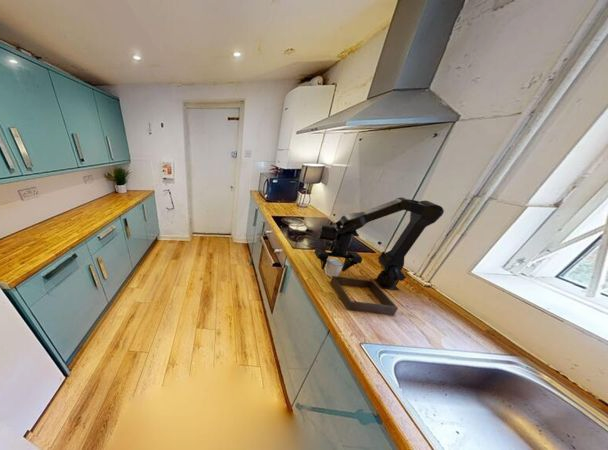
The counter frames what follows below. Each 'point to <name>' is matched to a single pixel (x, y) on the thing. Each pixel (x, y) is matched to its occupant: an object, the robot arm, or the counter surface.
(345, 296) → the brown square frame
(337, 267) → the shot glass
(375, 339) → the counter surface
